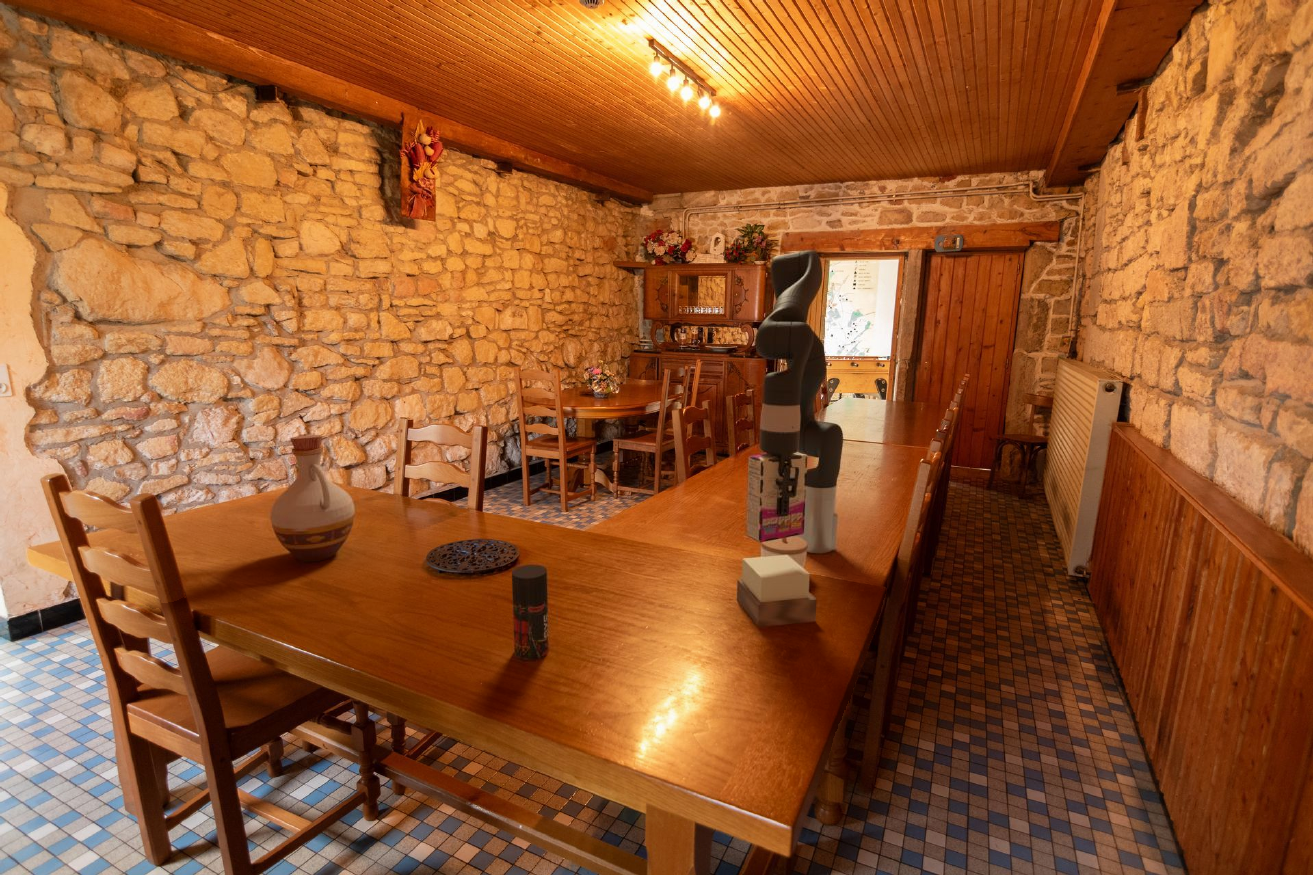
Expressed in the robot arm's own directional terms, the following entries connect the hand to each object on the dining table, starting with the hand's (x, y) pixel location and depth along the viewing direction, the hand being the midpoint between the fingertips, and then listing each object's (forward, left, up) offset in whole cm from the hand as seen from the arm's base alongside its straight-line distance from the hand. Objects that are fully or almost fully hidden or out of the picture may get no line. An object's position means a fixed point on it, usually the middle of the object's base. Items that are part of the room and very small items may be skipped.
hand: (775, 510), depth 121 cm
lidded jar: (-10, -17, -21) cm, 29 cm away
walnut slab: (-1, 0, -21) cm, 21 cm away
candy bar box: (0, 0, -5) cm, 5 cm away
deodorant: (+48, +7, -21) cm, 53 cm away
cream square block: (0, +1, -16) cm, 16 cm away
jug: (+98, -48, -21) cm, 111 cm away
